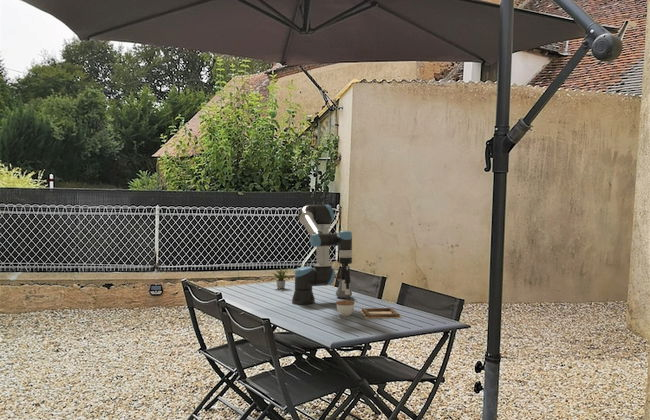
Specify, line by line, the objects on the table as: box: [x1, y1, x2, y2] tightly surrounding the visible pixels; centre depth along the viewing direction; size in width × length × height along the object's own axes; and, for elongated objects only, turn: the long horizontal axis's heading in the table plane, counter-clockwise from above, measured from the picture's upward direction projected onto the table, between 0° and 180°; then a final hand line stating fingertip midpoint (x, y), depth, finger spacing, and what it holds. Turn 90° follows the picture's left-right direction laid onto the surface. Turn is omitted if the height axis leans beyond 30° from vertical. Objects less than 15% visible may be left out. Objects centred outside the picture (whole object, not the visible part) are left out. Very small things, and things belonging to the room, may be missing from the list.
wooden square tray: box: [358, 307, 403, 320], centre depth 347 cm, size 22×22×2 cm
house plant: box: [271, 267, 289, 289], centre depth 438 cm, size 14×14×16 cm
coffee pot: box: [335, 275, 353, 299], centre depth 405 cm, size 21×12×15 cm, turn 33°
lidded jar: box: [336, 298, 355, 317], centre depth 346 cm, size 11×11×9 cm
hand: (345, 292), depth 345 cm, fingers open, 13 cm apart
